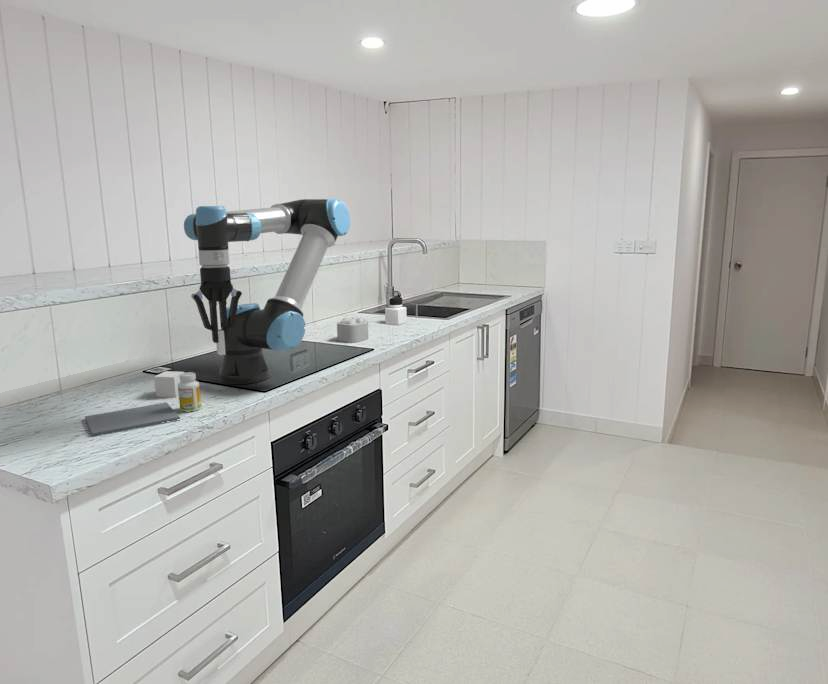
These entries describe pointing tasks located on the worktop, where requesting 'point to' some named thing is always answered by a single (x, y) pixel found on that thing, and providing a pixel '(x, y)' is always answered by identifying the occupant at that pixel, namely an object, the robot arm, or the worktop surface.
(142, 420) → the rubber mat
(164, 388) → the grey cube
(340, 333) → the lumpy-topped squat cylinder
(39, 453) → the worktop surface
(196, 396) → the supplement bottle
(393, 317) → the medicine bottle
